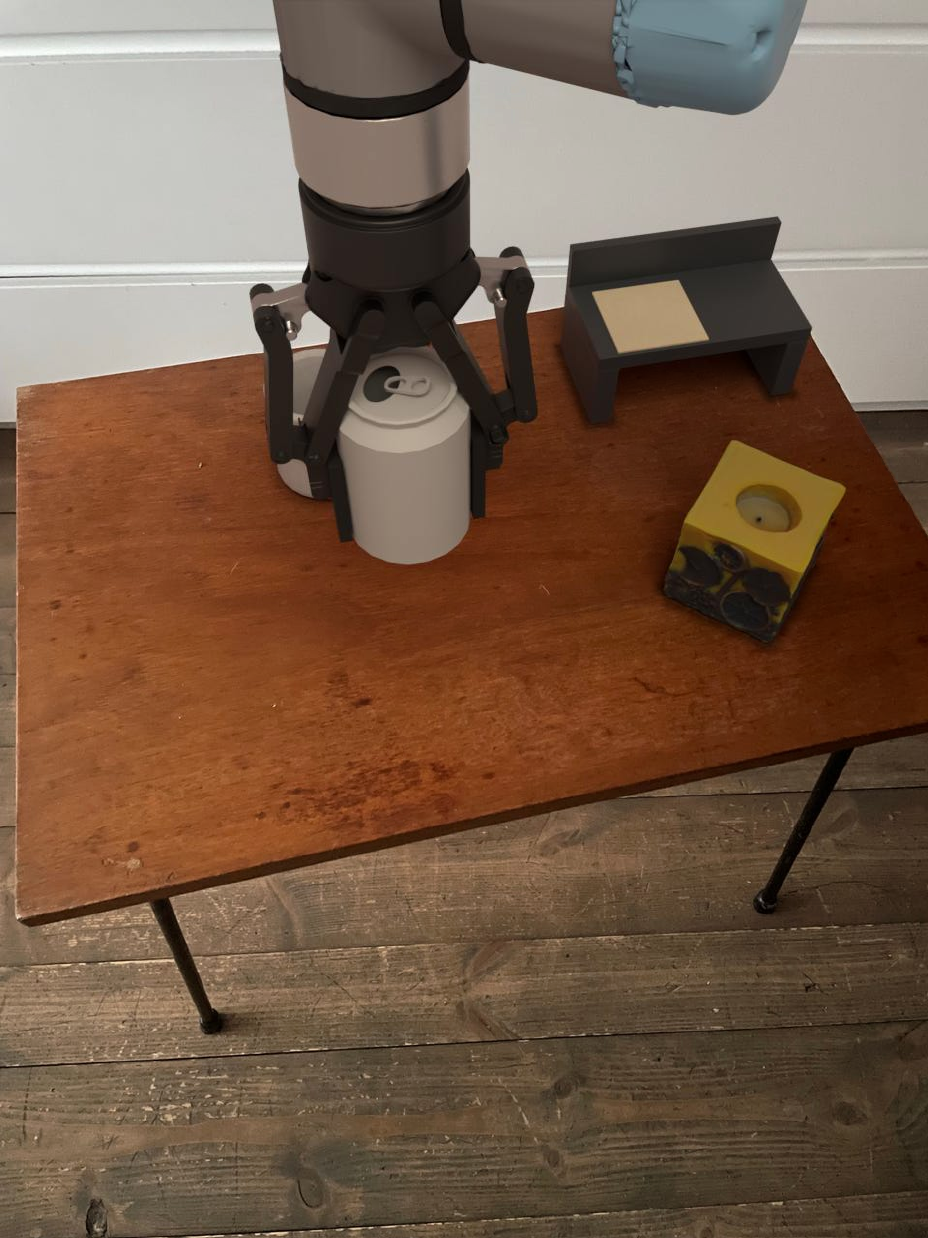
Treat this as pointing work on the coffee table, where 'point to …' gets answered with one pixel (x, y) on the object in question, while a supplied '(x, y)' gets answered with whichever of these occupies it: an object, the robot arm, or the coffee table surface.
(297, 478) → the mug
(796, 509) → the candle
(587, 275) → the shelf
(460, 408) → the can
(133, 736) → the coffee table surface
